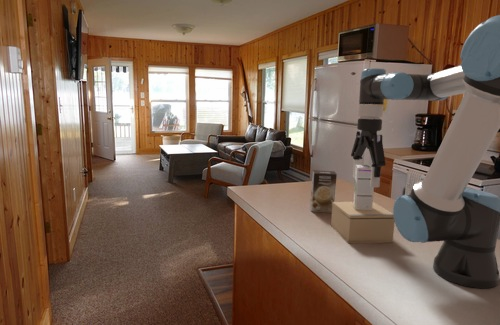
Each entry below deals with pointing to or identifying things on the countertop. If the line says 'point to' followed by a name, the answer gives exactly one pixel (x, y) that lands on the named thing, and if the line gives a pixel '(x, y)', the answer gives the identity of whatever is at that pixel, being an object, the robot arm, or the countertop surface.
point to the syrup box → (363, 188)
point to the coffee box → (323, 191)
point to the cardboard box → (362, 228)
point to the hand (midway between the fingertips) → (365, 182)
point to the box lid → (352, 213)
